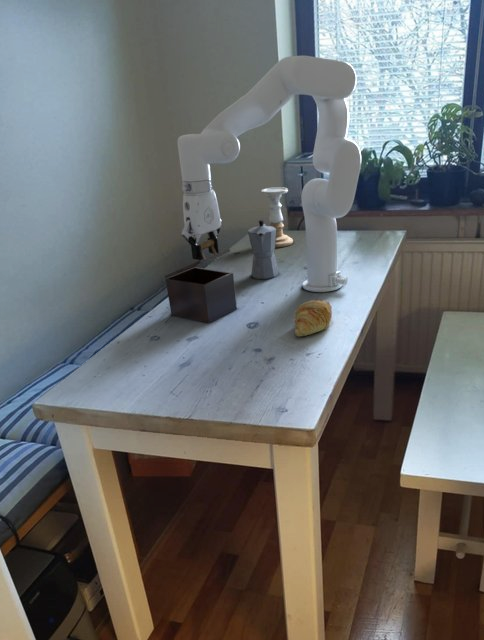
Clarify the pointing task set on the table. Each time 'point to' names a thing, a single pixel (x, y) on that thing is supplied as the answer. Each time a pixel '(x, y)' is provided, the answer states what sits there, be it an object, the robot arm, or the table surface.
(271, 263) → the coffeepot
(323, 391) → the table surface
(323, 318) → the croissant
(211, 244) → the lid
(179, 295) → the chest
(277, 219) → the candle holder
